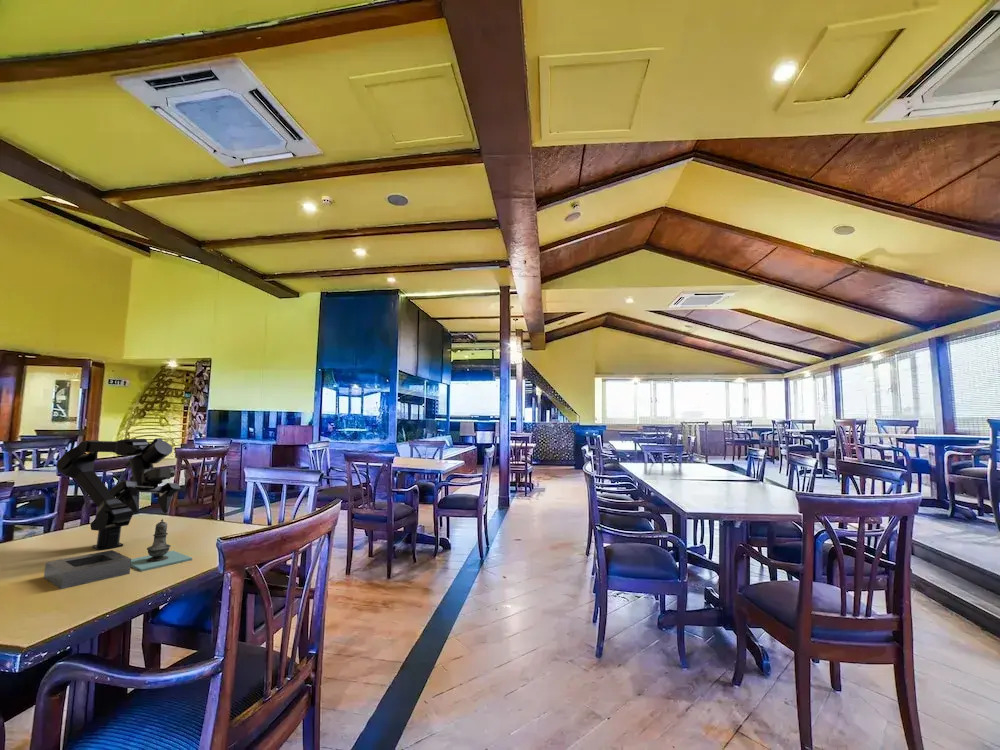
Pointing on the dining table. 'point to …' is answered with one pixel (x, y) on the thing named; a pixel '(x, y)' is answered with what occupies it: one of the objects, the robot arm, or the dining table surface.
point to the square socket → (86, 568)
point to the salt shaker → (159, 543)
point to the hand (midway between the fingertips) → (152, 512)
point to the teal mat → (172, 556)
